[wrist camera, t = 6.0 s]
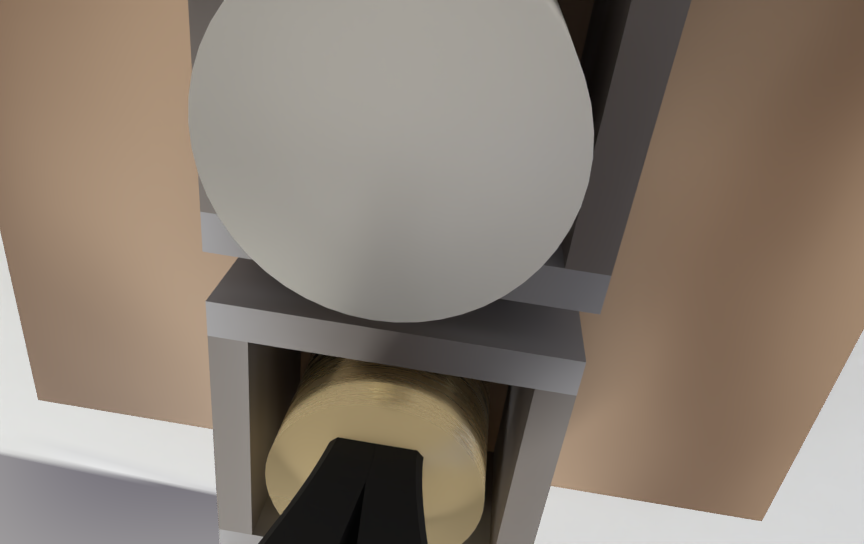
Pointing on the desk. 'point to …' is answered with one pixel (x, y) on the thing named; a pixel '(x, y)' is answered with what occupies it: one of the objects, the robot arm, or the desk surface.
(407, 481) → the robot arm
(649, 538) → the desk surface
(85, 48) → the knob panel
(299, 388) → the knob
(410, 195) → the knob middle
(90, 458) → the desk surface
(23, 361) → the desk surface
